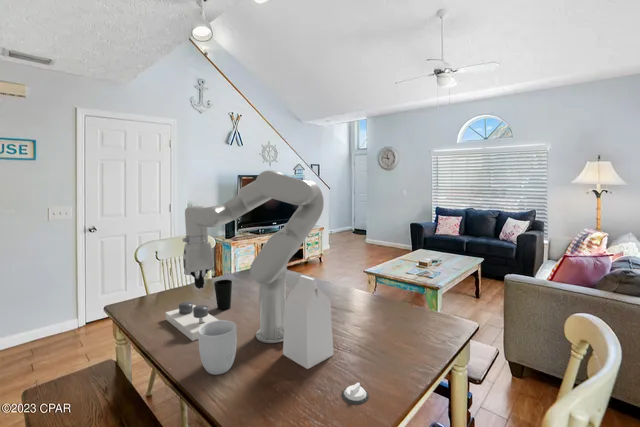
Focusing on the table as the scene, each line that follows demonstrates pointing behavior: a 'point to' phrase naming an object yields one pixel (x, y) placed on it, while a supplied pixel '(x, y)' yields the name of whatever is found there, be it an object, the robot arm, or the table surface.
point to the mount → (187, 322)
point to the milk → (307, 324)
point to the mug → (217, 345)
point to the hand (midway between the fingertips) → (199, 287)
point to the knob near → (200, 312)
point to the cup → (223, 294)
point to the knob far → (185, 307)
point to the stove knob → (355, 394)
